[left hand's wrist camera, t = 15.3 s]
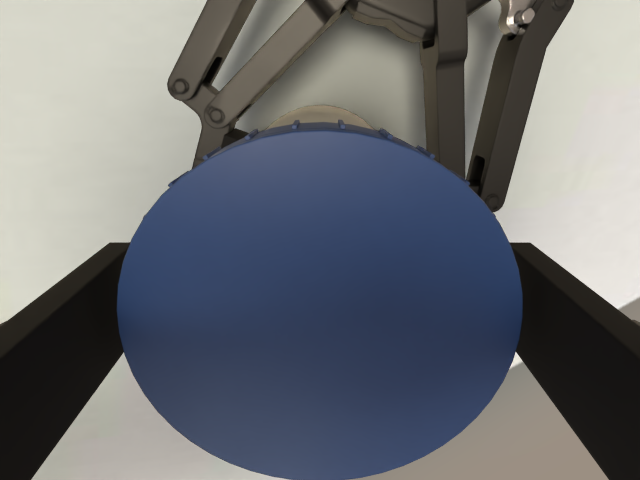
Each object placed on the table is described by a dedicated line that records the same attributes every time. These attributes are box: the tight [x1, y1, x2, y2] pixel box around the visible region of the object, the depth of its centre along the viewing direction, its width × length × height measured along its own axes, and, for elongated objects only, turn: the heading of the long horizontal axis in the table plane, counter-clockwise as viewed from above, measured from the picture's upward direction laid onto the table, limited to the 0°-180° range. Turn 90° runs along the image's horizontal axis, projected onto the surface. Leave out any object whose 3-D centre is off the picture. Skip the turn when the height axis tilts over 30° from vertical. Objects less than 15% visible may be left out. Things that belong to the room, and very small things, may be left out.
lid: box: [117, 119, 523, 480], centre depth 11 cm, size 10×10×2 cm
